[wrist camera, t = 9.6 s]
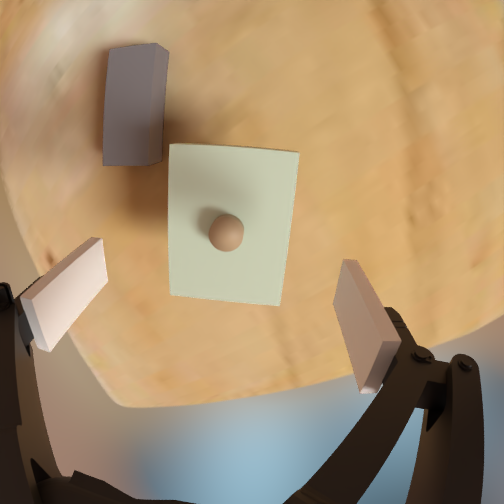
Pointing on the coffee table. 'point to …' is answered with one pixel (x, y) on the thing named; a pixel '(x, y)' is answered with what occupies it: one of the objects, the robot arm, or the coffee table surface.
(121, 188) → the coffee table surface
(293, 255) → the coffee table surface
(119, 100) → the block
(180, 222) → the lid
